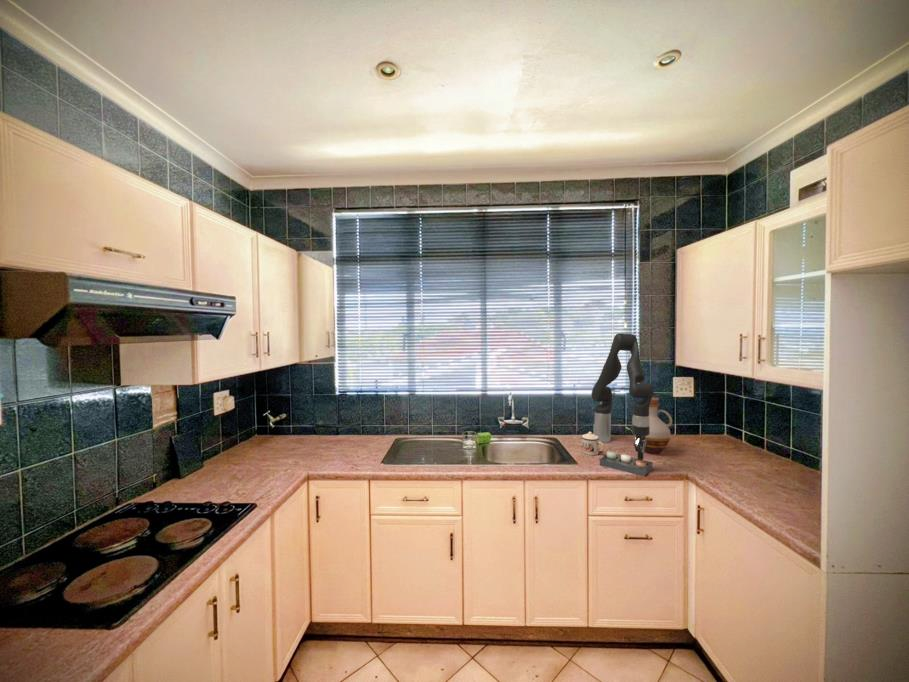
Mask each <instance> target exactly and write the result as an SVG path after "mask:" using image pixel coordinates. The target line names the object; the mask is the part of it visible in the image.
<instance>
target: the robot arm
mask: <svg viewBox="0 0 909 682" xmlns="http://www.w3.org/2000/svg"><path fill="white" fill-rule="evenodd" d="M620 351H623V352H624V351H626V352H630V358H629V359H628V362H627V364H626V371H627V372H626V373H627V374H628V379H629V387H628V394H629V395H630V396H631V398H634V399H641V401H637V402H633V403H632V404H633V405H632V421H631V424H632V425H631V430H632V431H631V432H632V434H634V436H635V435H636V438H634V441H635V442H633V446H634V449H635V452H637V459H639V460H644V452H645V451H644V449H645V448H646V443H647V438H645V437H646V436H647V435H649V434H650V419H649V407H650V403H651V400H652V398H654V394H655V393H654V390H655V389H654V387H653V385H652V384H651V383H645V382H644V381H645V380H646V377H645V373H644V370H643V367H642V363H641V356H640V350H639V341H638V338H637V336H636V335H635V334H633V333H625V332H624V333H623V332H621V333H620V332H619V333H616V334H615V335H614V337H613V340H612V343H611V346H610V349H609V353H608V356H607V358H606V360H605V361H604V362H605V363H604V364H603V367H602V370H601V372H600V374H599V377H598V379H597V381H596V383H595V384H594V386H593V388H592V390H591V399H592V400H593V401H594V402H596V403H597V402H599V403H601V404H599V405H597V406H595V407H594V423H593V429H592V430H593V432H592V434H594V435H596V436H598V437H599V442H602V443H608V442H611V440H612V433H611V431H612V428H611V427H612V419H611V418H612V416H611V415H612V405H613V392H612V388H611V387H610V386H608V385H610V384H611V383H613V382H614V381H616V380H617V378H618V377H619V375H620V373H621V370H622V363H621V361H620V358H619V352H620ZM643 382H644V383H643Z"/></svg>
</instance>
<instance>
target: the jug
mask: <svg viewBox="0 0 909 682" xmlns="http://www.w3.org/2000/svg"><path fill="white" fill-rule="evenodd" d="M659 399H660V398H659V397H652V400H651V403H650V407H649V419H650V434H649V435H647V436H646V437H645V438H647V443H646V448H645V449H644V452H645V453H647V454H653V455H654V454H655V455H656V454H660V453H661V452H662V451H664V450H665V449H666V447H668V444H669V442H670V439H671V429H670V427H671V426H672V425H673V418H672V416H671V414H670V413H669V412H668V411H666V410H665V409H658V408H659V406H660V404H659ZM659 413H663V414H664V415H666V416H667V417H668V421H669V422H668V424H666V423H665V422H664V421H662V419H661V418H659V416H658V414H659ZM634 437H635V438H636V435H635V434H634ZM635 438H634V439H635Z"/></svg>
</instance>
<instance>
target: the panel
mask: <svg viewBox="0 0 909 682" xmlns="http://www.w3.org/2000/svg"><path fill="white" fill-rule="evenodd" d="M621 455H622V454H619V453H618V454H617V453H616V460H613V459H608V458H607V453H606V454H605V455H604V456H602V457H601V458H599V466H601V467H605V468H610V469H614V470H618V471H621V472H626V473H629V474H634V475H637V476H641V477H646V475H648V473H650V472H651V471H652V470H653V468H654V467H653V465H654V462H652V461H648V460H644V459H643V460H639V459H638V458H635V457H631V463H630V464H629V463H625V462H621ZM636 461H644V462H646V467H642V466H638V465H636Z"/></svg>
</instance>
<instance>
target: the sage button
mask: <svg viewBox="0 0 909 682" xmlns="http://www.w3.org/2000/svg"><path fill="white" fill-rule="evenodd" d="M606 454H607V458H608V459H613V460H616V454H617V452H616V451H613V450H608V451H606Z"/></svg>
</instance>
